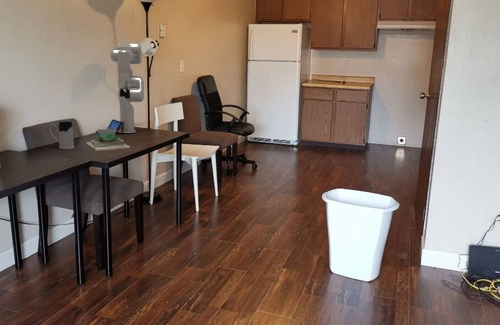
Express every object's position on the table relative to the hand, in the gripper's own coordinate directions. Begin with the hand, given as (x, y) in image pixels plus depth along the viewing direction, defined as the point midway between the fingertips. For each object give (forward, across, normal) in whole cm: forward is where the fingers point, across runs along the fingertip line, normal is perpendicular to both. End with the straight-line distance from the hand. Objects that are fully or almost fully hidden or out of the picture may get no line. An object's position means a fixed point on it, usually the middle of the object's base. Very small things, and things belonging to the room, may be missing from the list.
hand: (124, 97), depth 295 cm
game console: (+29, -28, -3) cm, 40 cm away
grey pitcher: (+28, +6, -41) cm, 50 cm away
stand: (+28, +13, -16) cm, 35 cm away
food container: (+27, +15, -15) cm, 34 cm away
